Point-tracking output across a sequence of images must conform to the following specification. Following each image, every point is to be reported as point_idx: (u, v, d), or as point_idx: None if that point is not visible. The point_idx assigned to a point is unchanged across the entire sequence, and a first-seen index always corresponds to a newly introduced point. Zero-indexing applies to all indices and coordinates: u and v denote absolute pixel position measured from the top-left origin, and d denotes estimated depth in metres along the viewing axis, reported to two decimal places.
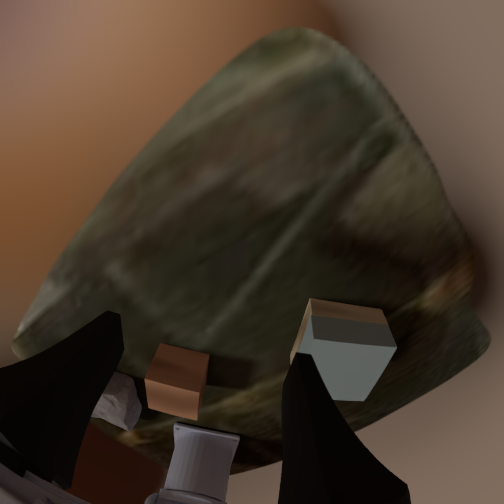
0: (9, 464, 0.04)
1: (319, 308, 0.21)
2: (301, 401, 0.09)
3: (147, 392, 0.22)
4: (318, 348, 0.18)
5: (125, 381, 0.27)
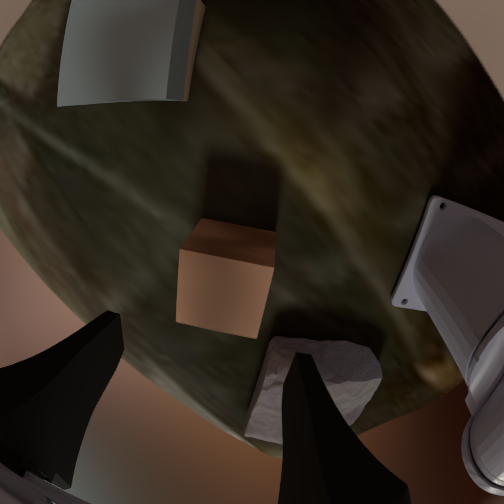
0: (9, 464, 0.04)
1: None
2: (301, 401, 0.09)
3: (209, 327, 0.16)
4: (68, 94, 0.11)
5: (268, 348, 0.21)
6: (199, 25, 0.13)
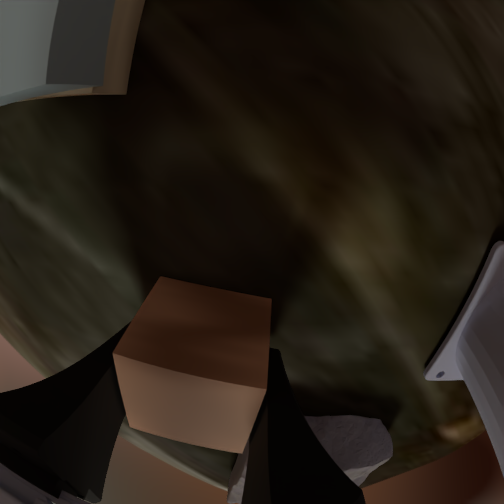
0: (9, 464, 0.04)
1: None
2: None
3: (175, 439, 0.10)
4: None
5: None
6: None
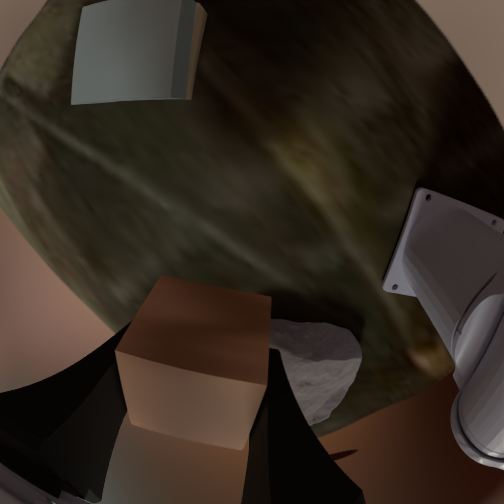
0: (9, 464, 0.04)
1: None
2: None
3: (176, 436, 0.10)
4: (82, 93, 0.12)
5: None
6: (201, 30, 0.14)
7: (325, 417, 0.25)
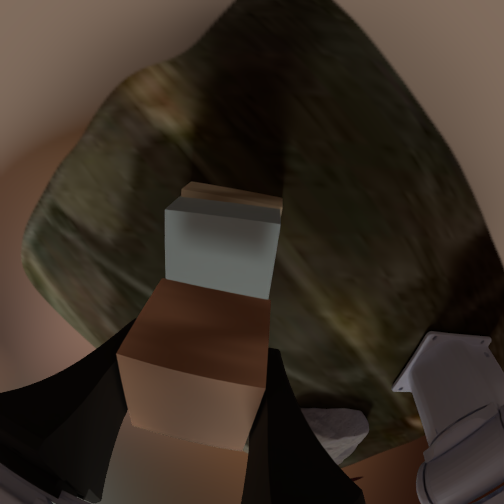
0: (9, 464, 0.04)
1: None
2: None
3: (177, 437, 0.10)
4: None
5: None
6: None
7: (338, 463, 0.30)
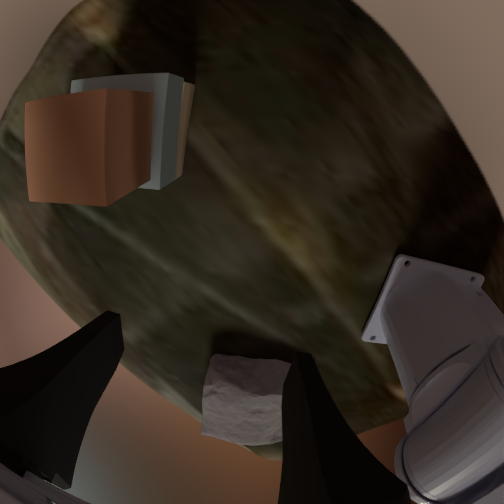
0: (9, 464, 0.04)
1: None
2: (301, 401, 0.09)
3: (57, 200, 0.11)
4: None
5: (209, 363, 0.25)
6: (189, 105, 0.17)
7: None
